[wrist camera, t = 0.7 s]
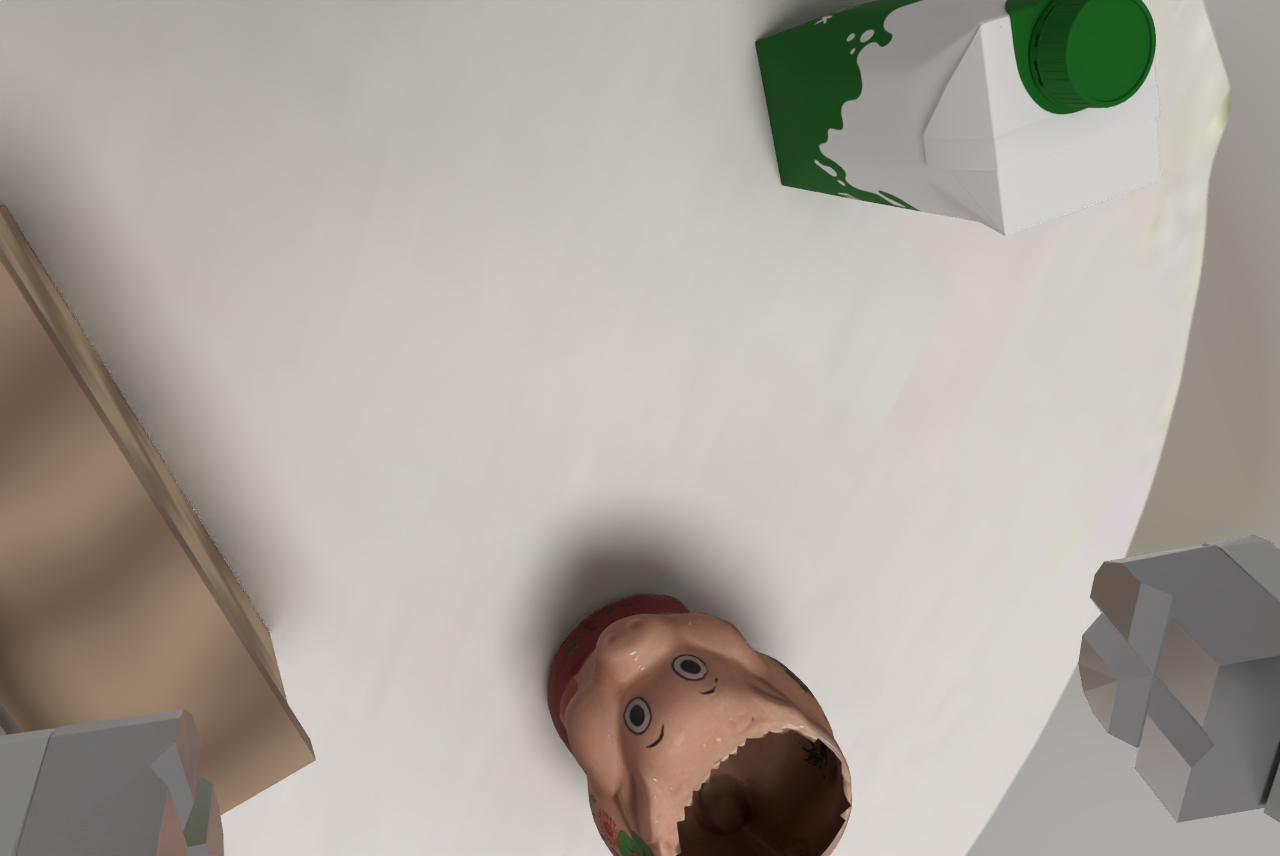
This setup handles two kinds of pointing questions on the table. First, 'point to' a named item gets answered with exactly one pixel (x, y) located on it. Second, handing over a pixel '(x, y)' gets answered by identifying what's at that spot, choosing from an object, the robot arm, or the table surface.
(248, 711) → the toolbox
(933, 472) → the table surface
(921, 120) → the milk carton
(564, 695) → the pink ceramic mug
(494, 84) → the table surface
